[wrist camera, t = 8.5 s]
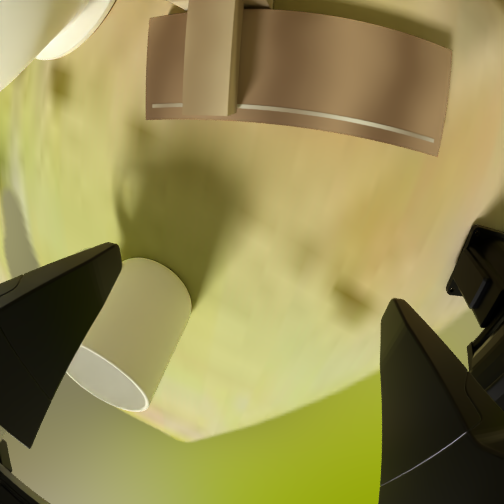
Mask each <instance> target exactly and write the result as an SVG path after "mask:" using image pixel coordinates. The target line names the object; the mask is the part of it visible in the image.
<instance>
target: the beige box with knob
mask: <svg viewBox="0 0 504 504" xmlns="http://www.w3.org/2000/svg"><path fill="white" fill-rule="evenodd" d="M167 1H169V2H171V3H173V4H175V5H177V6H179V7H180V8H182V9H184V10H186V11H188V14H187V25H186V39H185V54H184V74H183V105H182V115H210V116H229V115H232V114H235V113H237V96H238V80H239V65H240V51H241V37H242V24H243V11H244V9H271V10H273V0H167Z"/></svg>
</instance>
